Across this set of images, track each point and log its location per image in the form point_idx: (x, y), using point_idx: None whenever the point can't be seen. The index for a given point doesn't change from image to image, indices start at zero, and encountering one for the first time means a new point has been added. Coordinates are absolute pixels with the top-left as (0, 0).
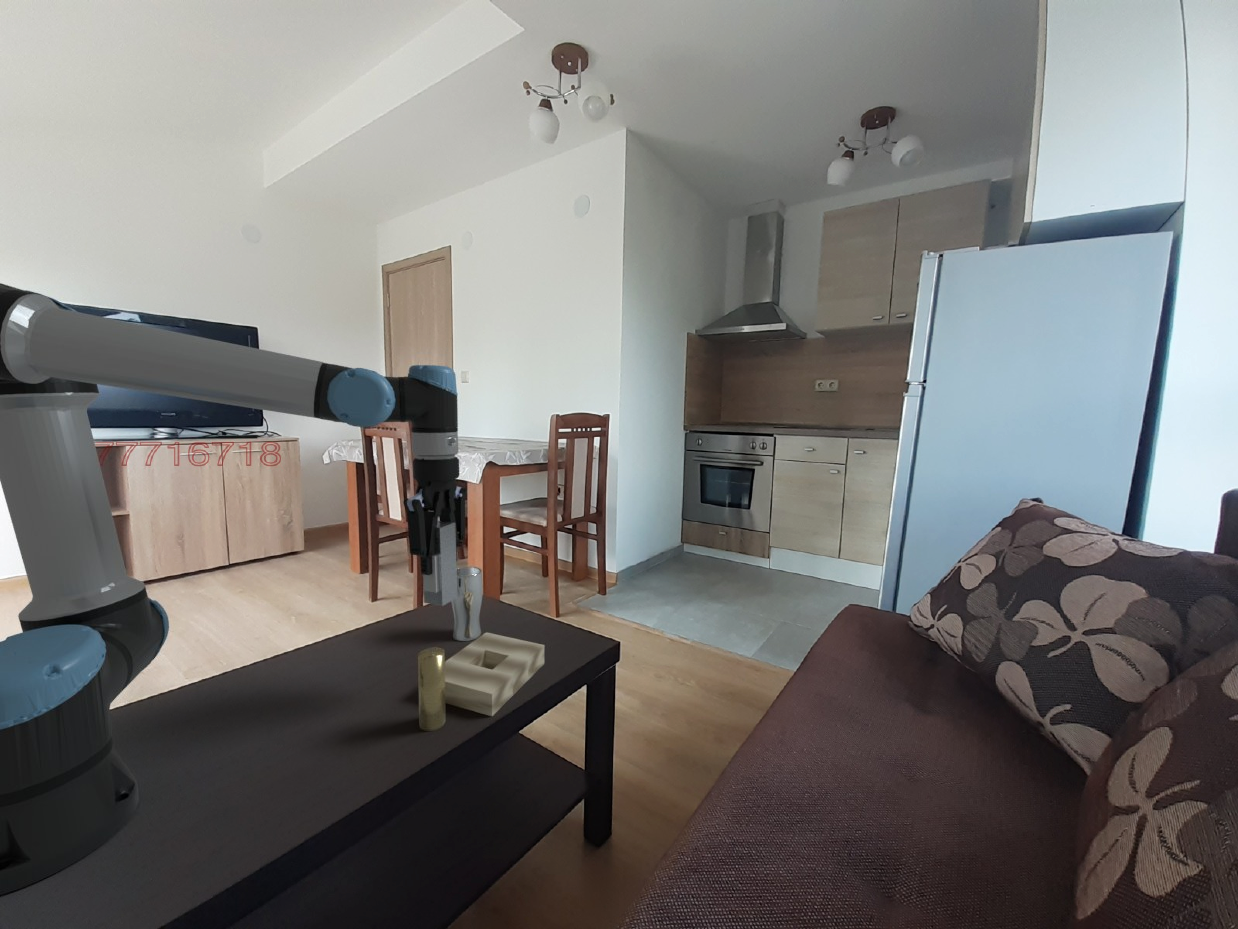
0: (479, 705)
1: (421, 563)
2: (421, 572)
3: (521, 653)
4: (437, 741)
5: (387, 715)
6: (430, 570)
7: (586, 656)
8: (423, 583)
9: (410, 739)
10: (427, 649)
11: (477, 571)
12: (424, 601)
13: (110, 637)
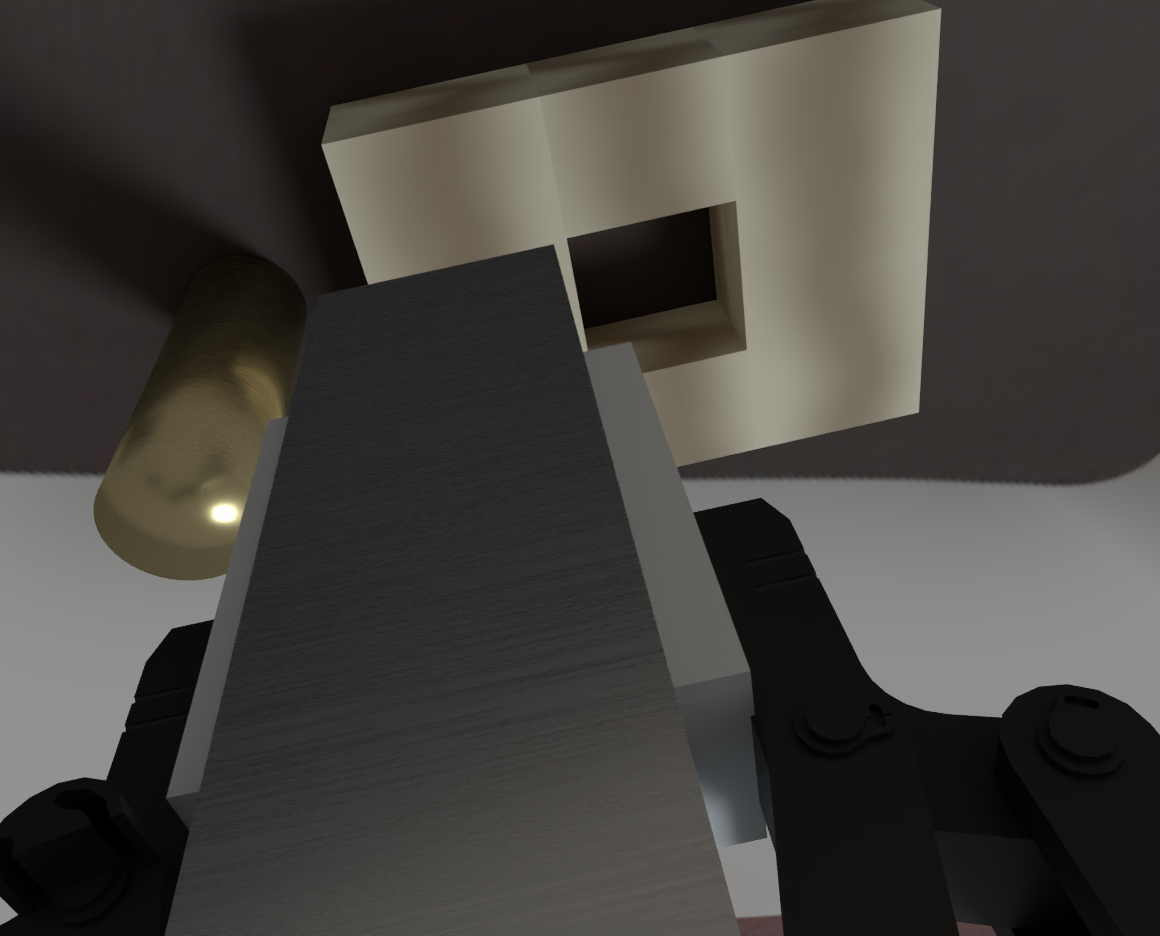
0: None
1: (120, 774)
2: (152, 659)
3: (794, 383)
4: None
5: (103, 75)
6: None
7: (1004, 457)
8: (254, 472)
9: (121, 324)
10: (185, 467)
11: None
12: (317, 306)
13: None
